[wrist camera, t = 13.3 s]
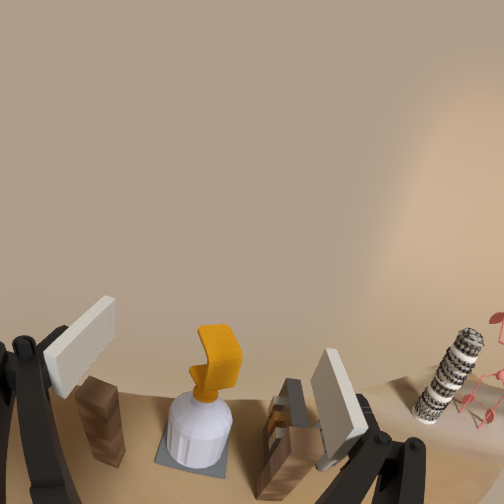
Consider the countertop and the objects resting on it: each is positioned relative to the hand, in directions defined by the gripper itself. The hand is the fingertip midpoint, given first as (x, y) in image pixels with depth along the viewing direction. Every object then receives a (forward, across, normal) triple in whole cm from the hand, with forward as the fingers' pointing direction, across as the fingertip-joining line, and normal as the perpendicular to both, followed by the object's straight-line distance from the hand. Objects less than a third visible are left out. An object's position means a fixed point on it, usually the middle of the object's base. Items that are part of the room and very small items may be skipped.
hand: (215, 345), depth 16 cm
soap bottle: (+13, 0, -32) cm, 34 cm away
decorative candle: (+26, +55, -32) cm, 69 cm away
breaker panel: (+15, +13, -32) cm, 38 cm away
